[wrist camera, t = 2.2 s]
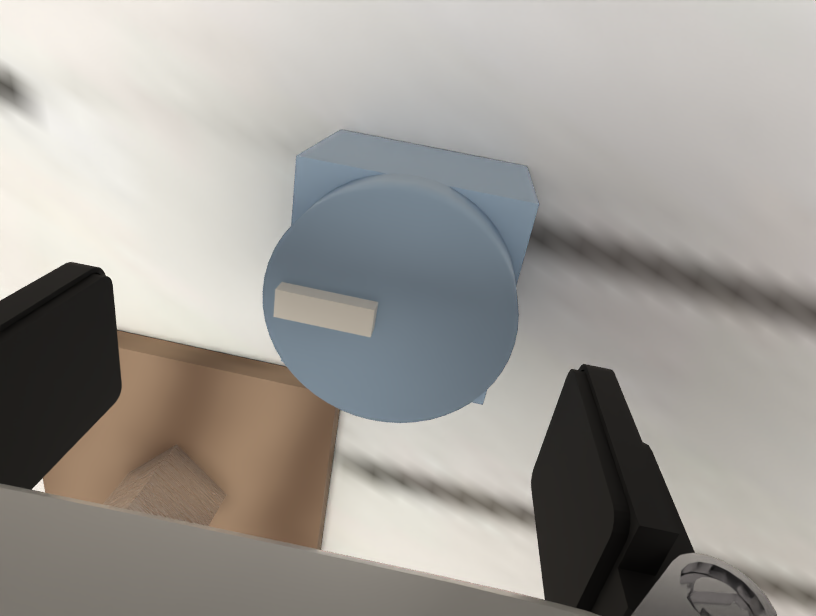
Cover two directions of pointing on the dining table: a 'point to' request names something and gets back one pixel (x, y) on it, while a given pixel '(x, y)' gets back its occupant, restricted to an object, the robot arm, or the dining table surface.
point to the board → (213, 437)
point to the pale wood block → (170, 489)
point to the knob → (399, 275)
